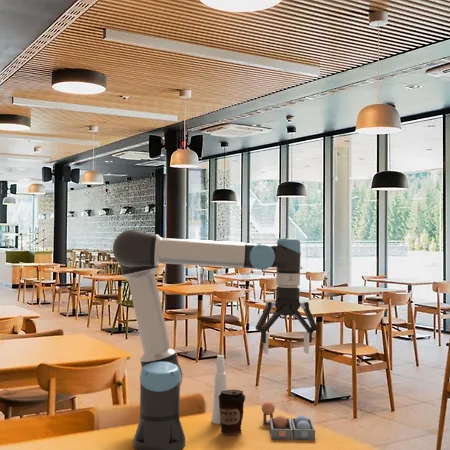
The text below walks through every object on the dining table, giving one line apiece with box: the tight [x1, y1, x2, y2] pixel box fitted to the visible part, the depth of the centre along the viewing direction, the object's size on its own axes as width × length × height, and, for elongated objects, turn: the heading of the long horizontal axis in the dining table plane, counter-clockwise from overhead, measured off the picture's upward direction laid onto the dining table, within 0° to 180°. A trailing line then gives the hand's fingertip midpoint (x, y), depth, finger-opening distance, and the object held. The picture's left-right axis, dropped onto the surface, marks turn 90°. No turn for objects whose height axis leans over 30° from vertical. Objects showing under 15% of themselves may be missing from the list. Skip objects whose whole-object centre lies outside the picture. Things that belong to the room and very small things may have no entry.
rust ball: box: [273, 414, 287, 429], centre depth 196 cm, size 4×4×4 cm
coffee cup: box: [219, 389, 246, 436], centre depth 193 cm, size 9×8×13 cm
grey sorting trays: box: [269, 417, 316, 441], centre depth 193 cm, size 13×12×3 cm
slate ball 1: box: [295, 414, 309, 427], centre depth 196 cm, size 4×4×4 cm
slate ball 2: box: [296, 421, 311, 430], centre depth 190 cm, size 4×4×4 cm
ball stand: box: [262, 413, 274, 426], centre depth 203 cm, size 3×3×3 cm
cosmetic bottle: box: [210, 354, 228, 425], centre depth 205 cm, size 6×6×22 cm
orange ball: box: [261, 400, 276, 416], centre depth 204 cm, size 4×4×4 cm
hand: (286, 353), depth 196 cm, fingers open, 13 cm apart
